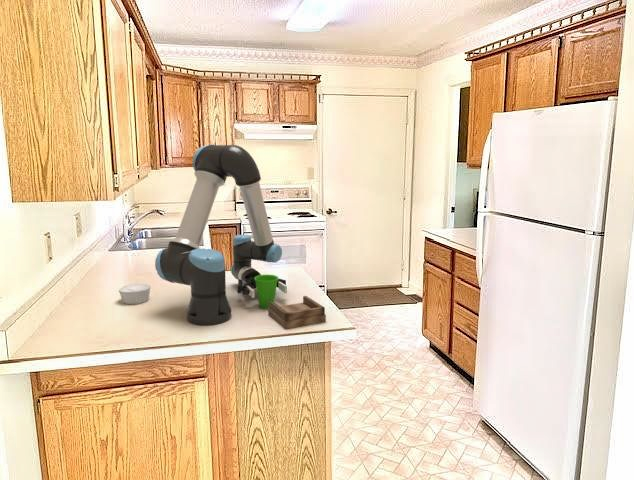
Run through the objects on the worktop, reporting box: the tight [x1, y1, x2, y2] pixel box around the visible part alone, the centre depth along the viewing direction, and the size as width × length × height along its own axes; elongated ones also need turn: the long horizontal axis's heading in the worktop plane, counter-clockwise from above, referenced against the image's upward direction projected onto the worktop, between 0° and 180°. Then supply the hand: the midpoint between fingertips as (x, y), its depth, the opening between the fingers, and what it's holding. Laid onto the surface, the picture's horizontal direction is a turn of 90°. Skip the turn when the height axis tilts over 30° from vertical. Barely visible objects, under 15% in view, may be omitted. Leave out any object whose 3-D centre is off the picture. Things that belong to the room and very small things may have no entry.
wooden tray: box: [267, 295, 327, 330], centre depth 161 cm, size 15×15×5 cm
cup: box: [254, 274, 279, 309], centre depth 173 cm, size 9×9×11 cm
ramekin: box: [118, 283, 151, 305], centre depth 179 cm, size 11×11×5 cm
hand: (270, 291), depth 170 cm, fingers open, 12 cm apart
